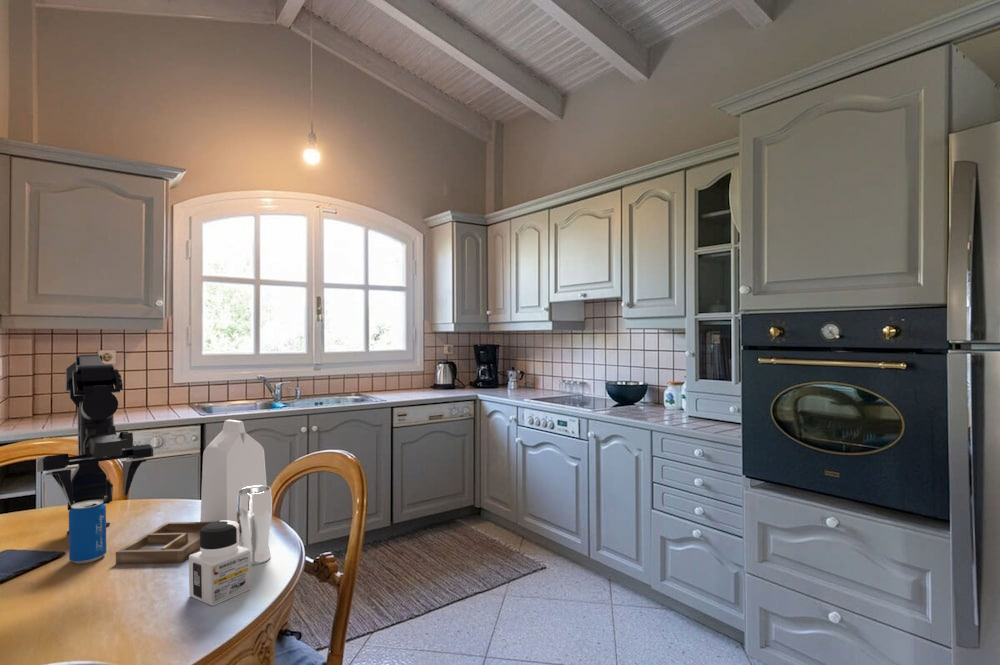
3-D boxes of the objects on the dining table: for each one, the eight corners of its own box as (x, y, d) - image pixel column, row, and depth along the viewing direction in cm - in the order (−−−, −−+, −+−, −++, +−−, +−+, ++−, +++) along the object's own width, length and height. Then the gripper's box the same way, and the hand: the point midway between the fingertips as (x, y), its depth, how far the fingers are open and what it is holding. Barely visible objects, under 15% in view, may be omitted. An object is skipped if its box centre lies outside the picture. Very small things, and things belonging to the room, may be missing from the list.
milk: (269, 518, 144) (267, 419, 144) (227, 531, 134) (225, 426, 134) (242, 510, 151) (240, 416, 150) (200, 523, 141) (198, 422, 141)
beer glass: (279, 555, 120) (278, 486, 120) (256, 568, 113) (255, 495, 113) (254, 551, 122) (253, 484, 122) (229, 564, 116) (228, 493, 116)
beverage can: (86, 566, 115) (85, 509, 115) (61, 563, 117) (60, 507, 117) (113, 553, 122) (113, 499, 122) (89, 551, 123) (89, 498, 123)
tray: (166, 532, 134) (166, 521, 134) (223, 531, 134) (223, 520, 134) (115, 563, 116) (115, 550, 116) (182, 562, 116) (182, 549, 116)
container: (212, 607, 97) (211, 534, 97) (188, 596, 101) (187, 526, 101) (252, 589, 104) (251, 521, 104) (228, 580, 108) (227, 514, 108)
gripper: (49, 424, 102) (51, 510, 100) (160, 415, 117) (164, 490, 114) (36, 430, 109) (37, 510, 107) (142, 420, 124) (145, 491, 121)
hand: (99, 500), depth 112 cm, fingers open, 9 cm apart
